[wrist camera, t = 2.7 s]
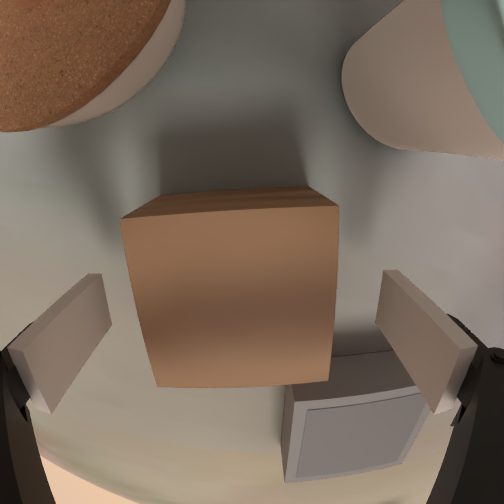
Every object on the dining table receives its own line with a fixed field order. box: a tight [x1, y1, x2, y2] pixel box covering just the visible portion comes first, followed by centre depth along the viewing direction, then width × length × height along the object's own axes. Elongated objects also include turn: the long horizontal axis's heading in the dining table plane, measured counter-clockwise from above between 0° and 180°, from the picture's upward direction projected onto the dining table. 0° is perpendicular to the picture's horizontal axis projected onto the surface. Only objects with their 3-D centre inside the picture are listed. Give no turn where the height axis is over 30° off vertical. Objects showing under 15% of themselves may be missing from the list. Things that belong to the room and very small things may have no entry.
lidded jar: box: [0, 0, 186, 132], centre depth 9 cm, size 11×11×9 cm
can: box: [341, 0, 504, 161], centre depth 9 cm, size 7×7×12 cm
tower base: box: [281, 350, 431, 483], centre depth 20 cm, size 10×10×4 cm
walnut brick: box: [120, 186, 339, 388], centre depth 15 cm, size 8×8×6 cm
